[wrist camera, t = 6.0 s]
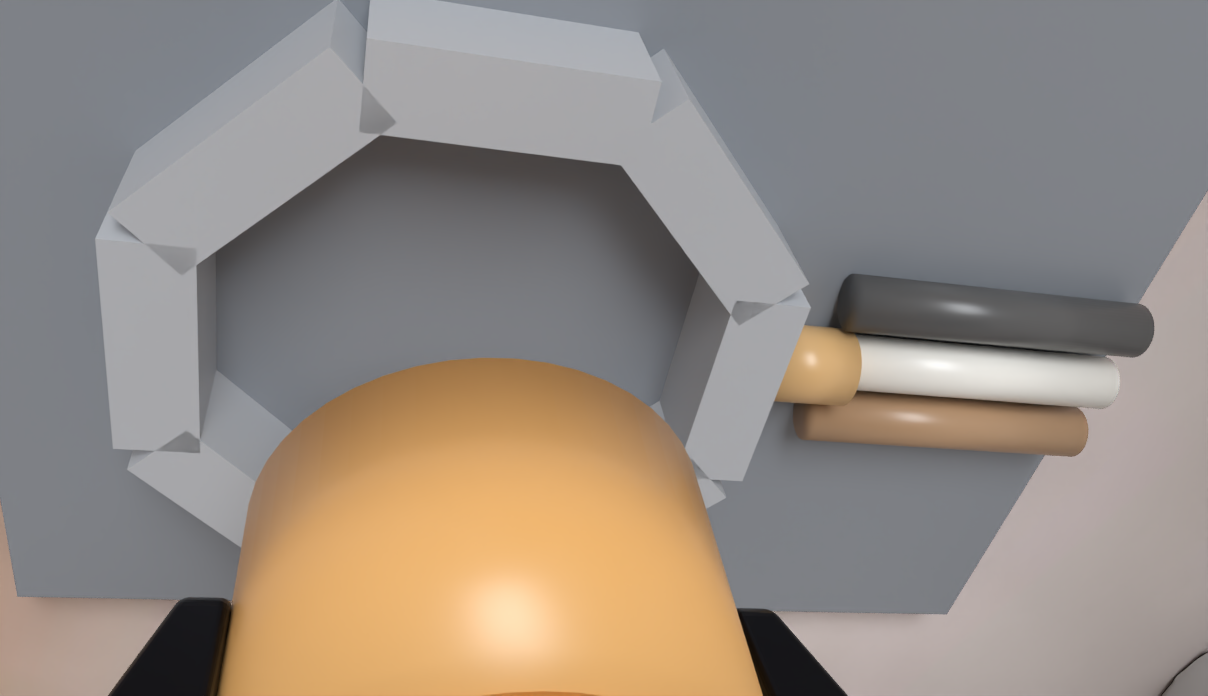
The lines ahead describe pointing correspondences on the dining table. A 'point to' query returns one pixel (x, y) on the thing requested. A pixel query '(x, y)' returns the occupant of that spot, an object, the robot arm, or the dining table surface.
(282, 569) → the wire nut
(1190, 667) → the mug
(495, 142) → the junction socket
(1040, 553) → the dining table surface
